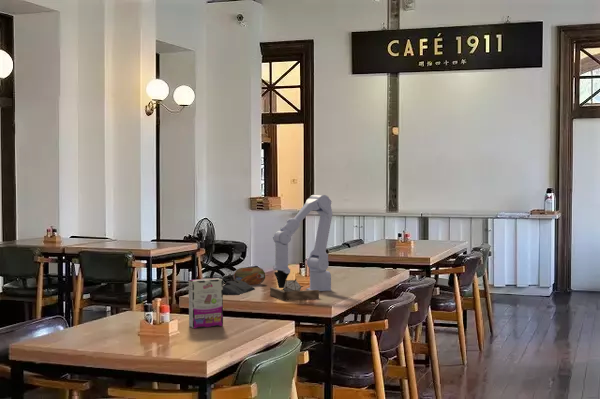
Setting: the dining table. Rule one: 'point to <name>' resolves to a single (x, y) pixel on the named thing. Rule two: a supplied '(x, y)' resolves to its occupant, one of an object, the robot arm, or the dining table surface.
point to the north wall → (301, 294)
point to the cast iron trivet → (236, 287)
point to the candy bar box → (205, 303)
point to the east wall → (277, 293)
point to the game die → (291, 285)
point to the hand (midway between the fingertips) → (281, 287)
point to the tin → (250, 275)
